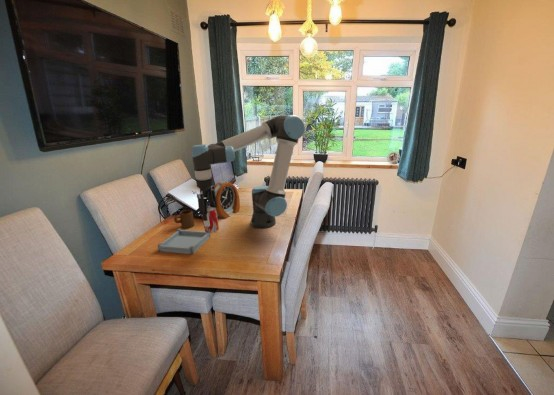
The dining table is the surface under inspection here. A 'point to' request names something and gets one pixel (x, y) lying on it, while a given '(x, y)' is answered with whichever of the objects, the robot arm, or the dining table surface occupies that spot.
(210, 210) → the soda can
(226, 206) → the alarm clock
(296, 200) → the dining table surface
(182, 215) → the mug
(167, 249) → the grey shallow square tray
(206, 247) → the dining table surface
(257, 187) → the robot arm
